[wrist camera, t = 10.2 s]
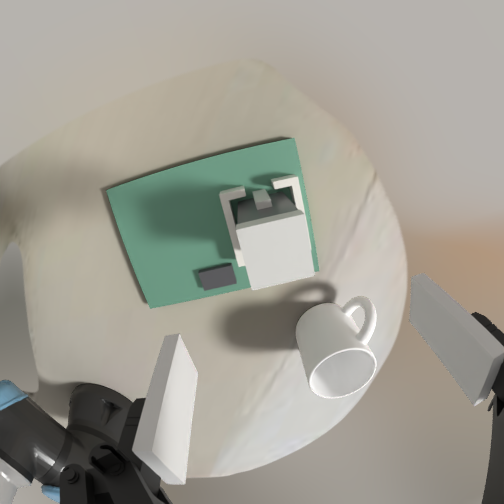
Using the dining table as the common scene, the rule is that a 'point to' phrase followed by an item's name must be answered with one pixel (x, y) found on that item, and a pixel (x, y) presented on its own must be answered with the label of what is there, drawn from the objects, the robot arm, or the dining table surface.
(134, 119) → the dining table surface
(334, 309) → the mug
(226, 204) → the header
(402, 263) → the dining table surface
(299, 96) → the dining table surface
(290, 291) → the dining table surface
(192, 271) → the board
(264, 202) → the plug
